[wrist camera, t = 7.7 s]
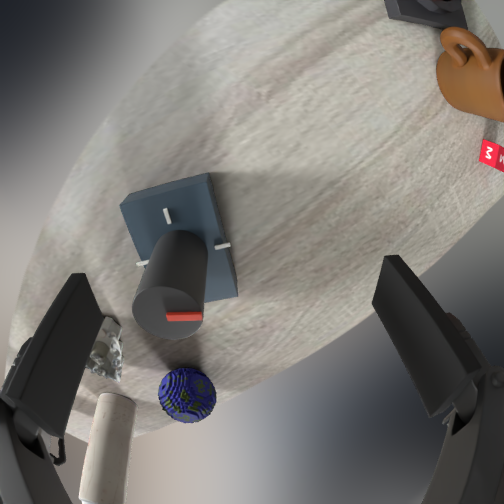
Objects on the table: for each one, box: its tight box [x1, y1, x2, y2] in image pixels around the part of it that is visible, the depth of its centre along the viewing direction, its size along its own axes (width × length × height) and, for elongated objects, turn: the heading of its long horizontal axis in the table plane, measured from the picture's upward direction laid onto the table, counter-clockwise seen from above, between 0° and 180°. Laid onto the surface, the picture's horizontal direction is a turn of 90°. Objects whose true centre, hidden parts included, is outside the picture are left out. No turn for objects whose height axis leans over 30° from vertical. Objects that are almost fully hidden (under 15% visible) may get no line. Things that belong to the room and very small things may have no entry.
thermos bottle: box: [79, 393, 138, 504], centre depth 32 cm, size 8×8×28 cm
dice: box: [479, 139, 504, 172], centre depth 23 cm, size 3×3×3 cm
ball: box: [158, 368, 216, 423], centre depth 36 cm, size 8×8×8 cm
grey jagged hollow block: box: [85, 316, 124, 383], centre depth 33 cm, size 11×8×4 cm
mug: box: [436, 27, 504, 122], centre depth 16 cm, size 12×8×9 cm, turn 71°
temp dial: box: [132, 230, 208, 340], centre depth 22 cm, size 5×5×8 cm
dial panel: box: [119, 173, 238, 303], centre depth 26 cm, size 12×9×3 cm
